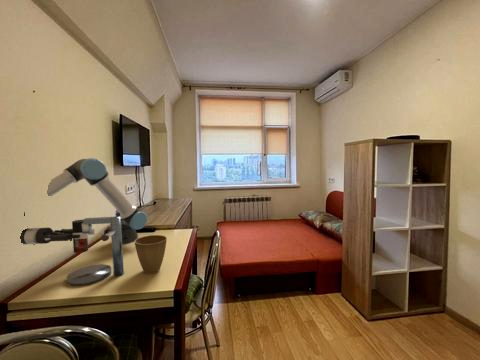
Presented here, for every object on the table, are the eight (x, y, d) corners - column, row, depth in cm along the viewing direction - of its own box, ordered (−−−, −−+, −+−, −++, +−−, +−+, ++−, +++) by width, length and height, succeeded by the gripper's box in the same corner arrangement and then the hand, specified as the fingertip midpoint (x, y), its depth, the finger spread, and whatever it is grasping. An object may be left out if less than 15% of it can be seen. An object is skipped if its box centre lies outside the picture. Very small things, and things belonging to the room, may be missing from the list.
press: (58, 280, 110) (54, 221, 108) (98, 265, 126) (95, 213, 125) (94, 295, 97) (90, 227, 95) (134, 275, 113) (131, 218, 111)
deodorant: (89, 248, 121) (87, 219, 120) (86, 252, 116) (85, 221, 115) (75, 249, 119) (73, 220, 118) (72, 253, 113) (70, 222, 112)
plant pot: (149, 280, 109) (147, 246, 108) (129, 272, 117) (128, 241, 115) (174, 268, 121) (173, 237, 120) (155, 262, 129) (153, 233, 128)
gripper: (53, 237, 124) (100, 235, 127) (25, 250, 105) (81, 247, 108) (52, 223, 124) (99, 221, 126) (24, 233, 105) (80, 231, 108)
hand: (91, 233), depth 117 cm, fingers closed on deodorant, 6 cm apart
